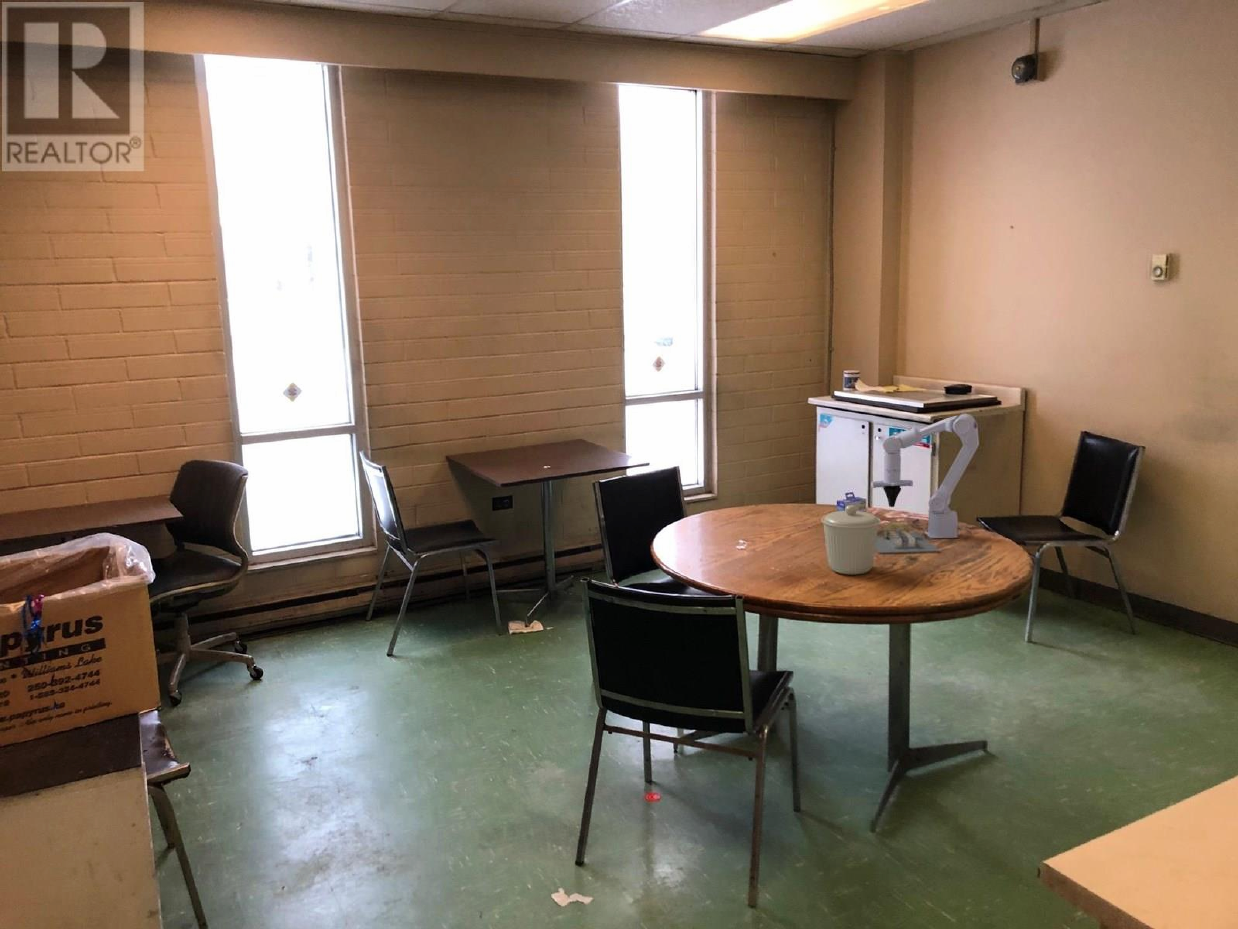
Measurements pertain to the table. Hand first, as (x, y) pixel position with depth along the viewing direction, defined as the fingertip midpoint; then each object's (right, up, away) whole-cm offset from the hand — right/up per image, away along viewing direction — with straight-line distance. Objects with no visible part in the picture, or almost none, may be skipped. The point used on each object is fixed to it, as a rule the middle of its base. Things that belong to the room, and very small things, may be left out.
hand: (891, 506), depth 350 cm
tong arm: (-3, -12, -13) cm, 18 cm away
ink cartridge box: (-14, -10, +3) cm, 17 cm away
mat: (-1, -12, -13) cm, 18 cm away
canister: (-25, -19, -42) cm, 52 cm away
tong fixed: (+1, -11, -14) cm, 18 cm away
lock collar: (-1, -11, -8) cm, 14 cm away
